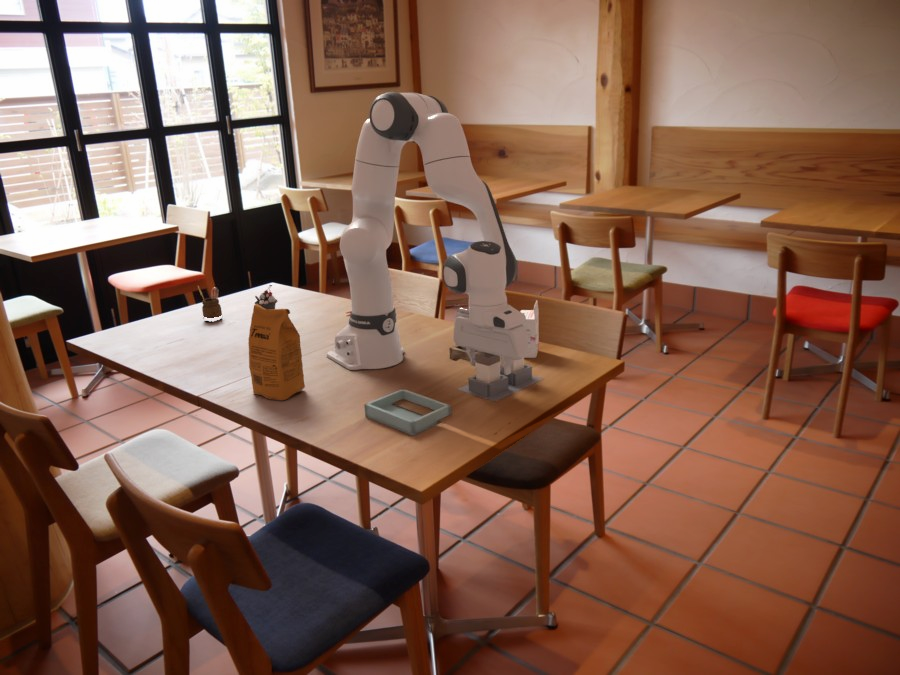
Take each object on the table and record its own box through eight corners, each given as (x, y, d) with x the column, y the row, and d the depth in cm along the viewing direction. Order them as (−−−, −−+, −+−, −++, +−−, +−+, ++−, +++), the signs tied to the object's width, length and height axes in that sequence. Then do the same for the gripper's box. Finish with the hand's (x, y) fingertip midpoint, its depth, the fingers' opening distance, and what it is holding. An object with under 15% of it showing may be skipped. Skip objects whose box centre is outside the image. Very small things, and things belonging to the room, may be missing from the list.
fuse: (500, 379, 182) (500, 344, 179) (511, 374, 185) (511, 340, 182) (513, 382, 179) (513, 347, 177) (524, 377, 182) (524, 343, 179)
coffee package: (276, 381, 190) (266, 298, 183) (311, 390, 183) (302, 304, 176) (246, 394, 182) (234, 308, 175) (281, 404, 175) (270, 315, 168)
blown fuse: (476, 390, 176) (475, 354, 173) (487, 384, 179) (486, 349, 176) (489, 394, 173) (488, 357, 170) (500, 388, 176) (499, 353, 173)
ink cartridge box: (521, 350, 205) (520, 298, 200) (539, 350, 204) (538, 299, 199) (517, 360, 197) (516, 307, 192) (536, 361, 196) (535, 307, 191)
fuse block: (457, 393, 177) (456, 377, 176) (505, 371, 189) (505, 356, 188) (495, 405, 169) (495, 389, 168) (543, 382, 181) (543, 367, 180)
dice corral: (449, 358, 201) (449, 347, 200) (472, 349, 207) (471, 339, 206) (474, 365, 195) (474, 354, 194) (496, 356, 201) (496, 345, 200)
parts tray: (365, 416, 167) (364, 404, 166) (403, 400, 174) (402, 388, 173) (412, 435, 156) (412, 422, 155) (451, 417, 164) (450, 405, 163)
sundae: (285, 331, 231) (280, 284, 226) (269, 337, 225) (264, 289, 221) (270, 328, 234) (264, 282, 229) (254, 334, 229) (248, 287, 224)
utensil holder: (222, 321, 244) (217, 286, 240) (202, 323, 242) (196, 288, 239) (223, 316, 249) (218, 282, 245) (203, 318, 248) (198, 283, 244)
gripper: (446, 309, 175) (449, 364, 179) (514, 323, 162) (515, 382, 166) (464, 303, 179) (466, 357, 184) (531, 316, 166) (532, 374, 170)
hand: (490, 369), depth 175 cm, fingers open, 8 cm apart
